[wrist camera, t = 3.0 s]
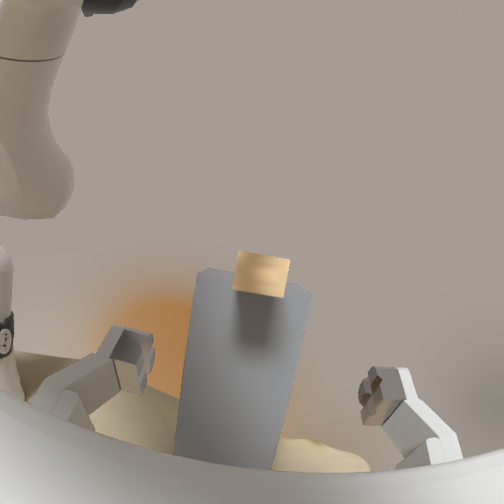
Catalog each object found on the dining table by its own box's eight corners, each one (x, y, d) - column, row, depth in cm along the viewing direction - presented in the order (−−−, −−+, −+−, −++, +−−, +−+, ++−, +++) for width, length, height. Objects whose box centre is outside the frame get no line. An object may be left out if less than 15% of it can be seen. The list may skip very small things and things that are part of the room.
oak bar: (232, 289, 24) (238, 250, 24) (239, 271, 46) (242, 251, 46) (283, 297, 24) (290, 259, 24) (266, 276, 46) (270, 256, 46)
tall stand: (172, 470, 32) (197, 273, 32) (185, 433, 42) (208, 268, 42) (265, 484, 32) (312, 292, 33) (262, 445, 42) (297, 283, 43)
